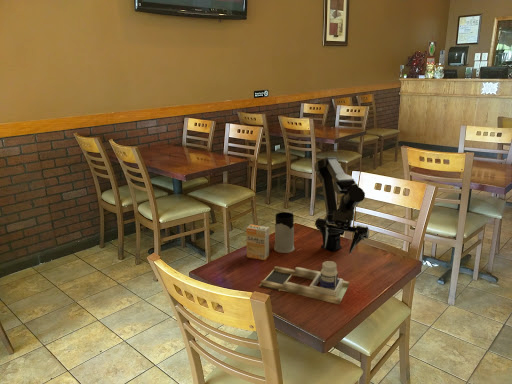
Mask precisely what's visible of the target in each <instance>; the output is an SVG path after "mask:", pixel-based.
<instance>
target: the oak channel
mask: <svg viewBox="0 0 512 384" xmlns="http://www.w3.org/2000/svg"><path fill="white" fill-rule="evenodd" d="M273 270H274V271H278V272H282V273H287V274H292V277H293V276H295V277H297V278H298V277H299V278H304V279H308V280H312V281H313V280H314V278H315V277H316V276H317V274H321V271H319V270H313V269H309V268H304V267H300V266H296V267H295V269H293V268H287V267H283V266H277V265H275V266H274V267H273ZM260 284H261V285H263V286H267V287H271V288H275V289H280V291H283V292H285V293H286V292H287V293H290V294H295V295H298V296H302V297H306V298H311V299H315V300H318V301H324V302H328V303H332V304H336V305H340V304H341V301H342V300H341V298H338V297H334V296H330V295H325V294H321V293H317V292H316V288H313V287H309V286H307V285H303V284H299V283H294V282H290V281H287V282H286V281H285V282H284V283H283V284H279V283H274V282H270V281H266V280H264V279H262V280H261V281H260ZM349 285H350V281H346V280H343V286H344V287H348V288H349Z"/></svg>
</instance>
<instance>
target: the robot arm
mask: <svg viewBox="0 0 512 384" xmlns="http://www.w3.org/2000/svg"><path fill="white" fill-rule="evenodd" d="M314 171H315V172H316V177H317V178H318V179H319V180H320V181H321V185H322V187H321V188H322V192H323V199H324V206H325V216H324V218H320V217H318V218H316V220H315V222H314V226H315V227H316V229H317V230H318V231H319V232H320V233H321V237H322V244H321V245H320V247H321V248H323V249H325V250H328V251H329V252H335V251H337V250H340V249H342V248H343V246H342V245H341V242H342V241H341V236H344V235H345V232H348V233H353V237H352V241H351V244H350V247H349V252H348V253H349V254H351V253H352V252H354V249H355V247H356V246H357V245H358V244H359V243H360V242H362V240H363V241H365V239H369V237H370V236H369V235H370V229H369V227H368V226H367V225H362V224H357V225H356V227H355V226H352V223H353V221H354V219H355V209H356V206H358V205H359V204H361V202H363V200H365V197H366V193H365V191H364V190H363V189H362V188H361V187H360V186H359V185H358V183H357V182H356V181H355V179H354V178H353V177H352V176H351V175H349V174H347V173H346V172H345V170H343V167H342V166H341V165H340V163H339V159H338V157H336V156H326V157H324V158H322V159H319V160H317V161H316V162H315V163H314ZM340 194H343V195H341V197H340V200H339V205H337V201H336V195H340ZM337 206H338V207H337Z"/></svg>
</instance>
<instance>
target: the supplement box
mask: <svg viewBox="0 0 512 384" xmlns="http://www.w3.org/2000/svg"><path fill="white" fill-rule="evenodd" d="M245 230H246V258H247V259H248V258H249V259H255V260H261V261H266V260H267V259H268V258H269V256H270V255H269V254H270V226H266V225H265V226H264V225H257V224H252V223H250V224H249V225H248V226H246V229H245Z"/></svg>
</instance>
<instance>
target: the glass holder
mask: <svg viewBox="0 0 512 384" xmlns="http://www.w3.org/2000/svg"><path fill="white" fill-rule="evenodd" d="M294 216H295V215H294V213H293V212H292V211H290V212H287V211H285V212H284V211H282V212H278V213H276V214H275V224H274V225H275V226H274V246H273V249H274V251H275V252H277V253H281V254H286V253H287V254H288V253H289V254H290V253H291V252H293V251H295V246H294V241H295V240H294V239H295V225H294Z"/></svg>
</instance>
